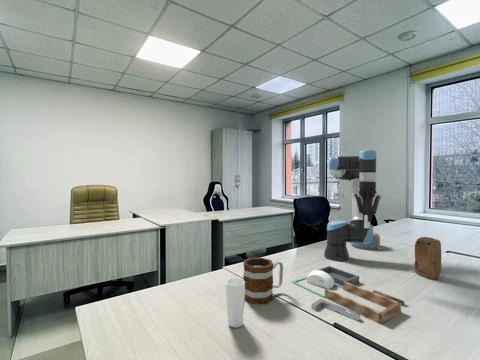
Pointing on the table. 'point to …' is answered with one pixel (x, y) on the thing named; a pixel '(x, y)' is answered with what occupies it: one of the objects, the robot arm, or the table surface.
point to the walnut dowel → (389, 297)
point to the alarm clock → (371, 246)
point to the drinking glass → (235, 301)
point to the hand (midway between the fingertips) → (367, 227)
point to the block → (428, 257)
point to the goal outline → (310, 289)
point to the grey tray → (340, 275)
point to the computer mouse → (320, 279)
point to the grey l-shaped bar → (335, 308)
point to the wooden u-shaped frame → (380, 317)
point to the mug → (260, 280)
